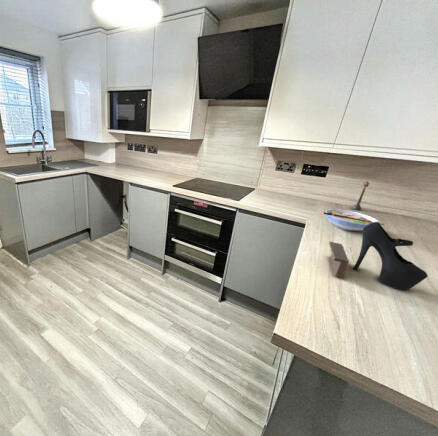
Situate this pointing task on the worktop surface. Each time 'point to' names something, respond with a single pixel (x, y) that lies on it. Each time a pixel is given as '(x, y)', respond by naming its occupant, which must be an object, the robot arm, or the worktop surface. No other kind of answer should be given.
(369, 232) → the high-heeled shoe
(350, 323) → the worktop surface
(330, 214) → the ramen bowl
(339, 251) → the shoe rack rail
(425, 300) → the worktop surface
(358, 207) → the wooden tabletop sculpture
